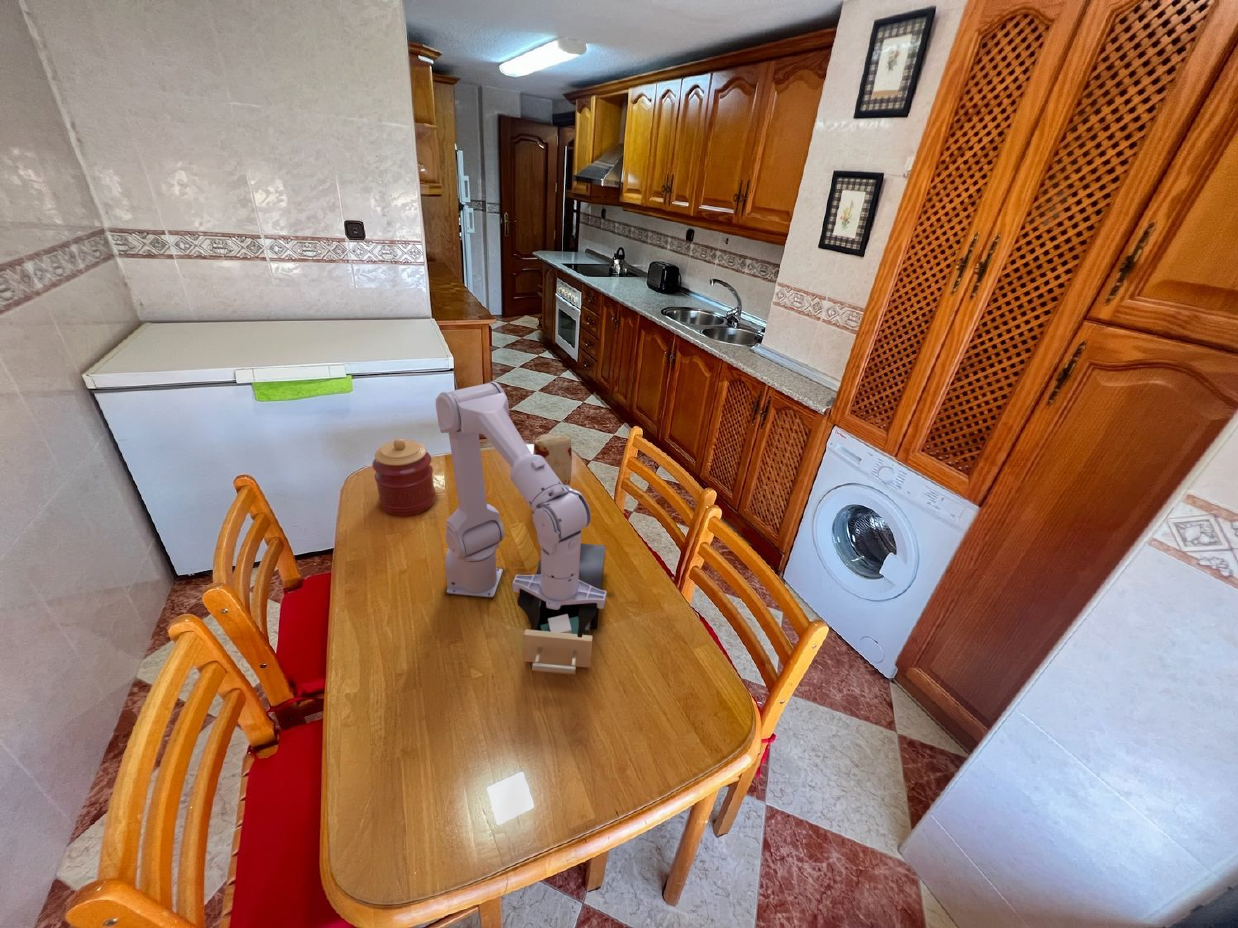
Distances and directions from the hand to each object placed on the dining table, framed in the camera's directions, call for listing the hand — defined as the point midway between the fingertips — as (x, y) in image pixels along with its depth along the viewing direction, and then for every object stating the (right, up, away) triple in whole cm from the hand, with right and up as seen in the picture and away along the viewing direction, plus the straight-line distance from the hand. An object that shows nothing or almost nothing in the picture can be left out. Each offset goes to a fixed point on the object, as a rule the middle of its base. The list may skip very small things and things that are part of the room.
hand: (558, 627), depth 81 cm
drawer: (-1, -6, +9) cm, 11 cm away
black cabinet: (0, -1, +20) cm, 20 cm away
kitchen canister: (-43, +17, +43) cm, 63 cm away
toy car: (0, -5, +8) cm, 10 cm away
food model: (-8, +16, +47) cm, 51 cm away
